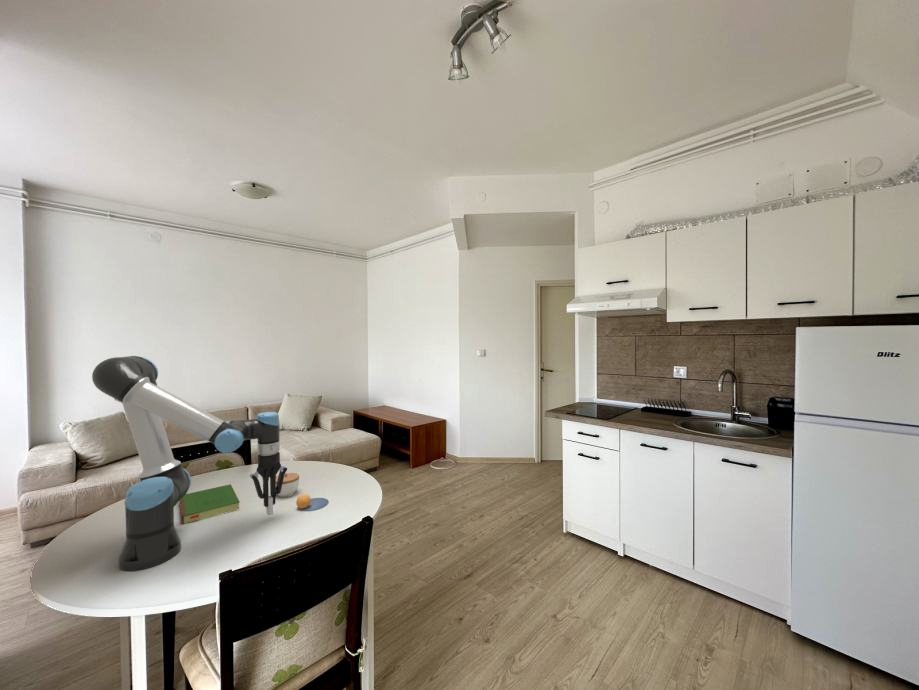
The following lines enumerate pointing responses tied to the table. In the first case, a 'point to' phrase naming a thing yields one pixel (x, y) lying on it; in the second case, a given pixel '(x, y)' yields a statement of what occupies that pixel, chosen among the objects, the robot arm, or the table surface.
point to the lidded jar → (289, 484)
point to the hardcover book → (208, 503)
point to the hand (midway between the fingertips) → (269, 513)
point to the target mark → (315, 504)
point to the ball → (303, 501)
